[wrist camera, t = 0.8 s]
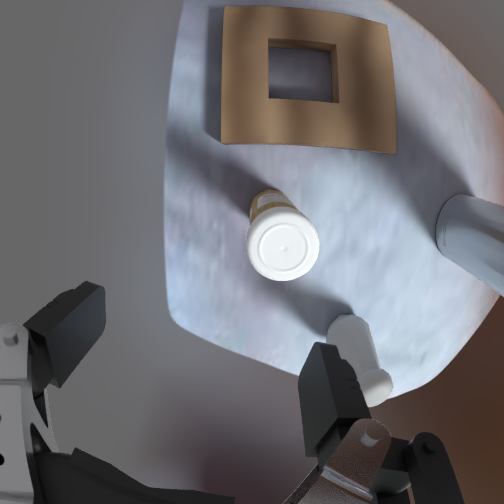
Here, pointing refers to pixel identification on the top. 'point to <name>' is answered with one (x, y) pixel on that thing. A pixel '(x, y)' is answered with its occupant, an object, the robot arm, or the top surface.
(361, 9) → the top surface
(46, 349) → the robot arm
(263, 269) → the sprinkles bottle
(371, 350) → the salt shaker
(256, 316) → the top surface
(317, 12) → the holder board
